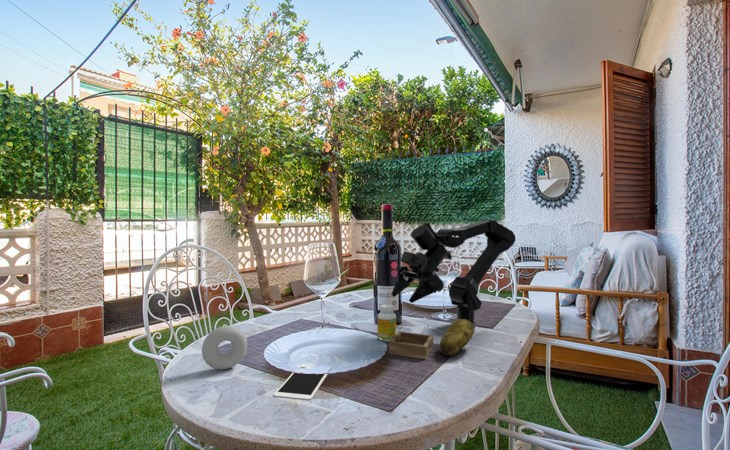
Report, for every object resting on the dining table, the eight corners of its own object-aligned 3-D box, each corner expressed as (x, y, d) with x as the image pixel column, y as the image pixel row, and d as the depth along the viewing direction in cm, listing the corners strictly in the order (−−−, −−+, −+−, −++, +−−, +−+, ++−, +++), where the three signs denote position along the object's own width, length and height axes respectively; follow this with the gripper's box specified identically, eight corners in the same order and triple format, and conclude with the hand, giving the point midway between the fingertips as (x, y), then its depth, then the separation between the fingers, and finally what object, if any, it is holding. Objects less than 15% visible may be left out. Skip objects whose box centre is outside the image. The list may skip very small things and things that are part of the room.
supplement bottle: (390, 343, 104) (390, 309, 104) (373, 339, 107) (374, 306, 107) (398, 338, 109) (399, 305, 109) (382, 334, 112) (383, 303, 111)
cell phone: (332, 368, 87) (332, 366, 87) (310, 402, 71) (310, 398, 71) (300, 366, 89) (300, 363, 89) (272, 398, 73) (272, 395, 73)
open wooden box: (399, 342, 105) (399, 331, 105) (433, 346, 102) (433, 335, 102) (388, 353, 96) (389, 341, 96) (426, 359, 93) (426, 347, 93)
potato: (426, 350, 99) (427, 320, 99) (460, 342, 106) (461, 314, 106) (449, 361, 92) (449, 329, 92) (484, 351, 99) (484, 322, 99)
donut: (202, 375, 81) (202, 330, 81) (200, 370, 84) (201, 326, 84) (248, 367, 86) (249, 325, 86) (246, 362, 89) (246, 321, 89)
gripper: (399, 240, 121) (369, 276, 115) (436, 244, 104) (403, 286, 99) (418, 263, 124) (390, 298, 119) (457, 271, 108) (426, 312, 103)
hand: (401, 298), depth 110 cm, fingers open, 9 cm apart
